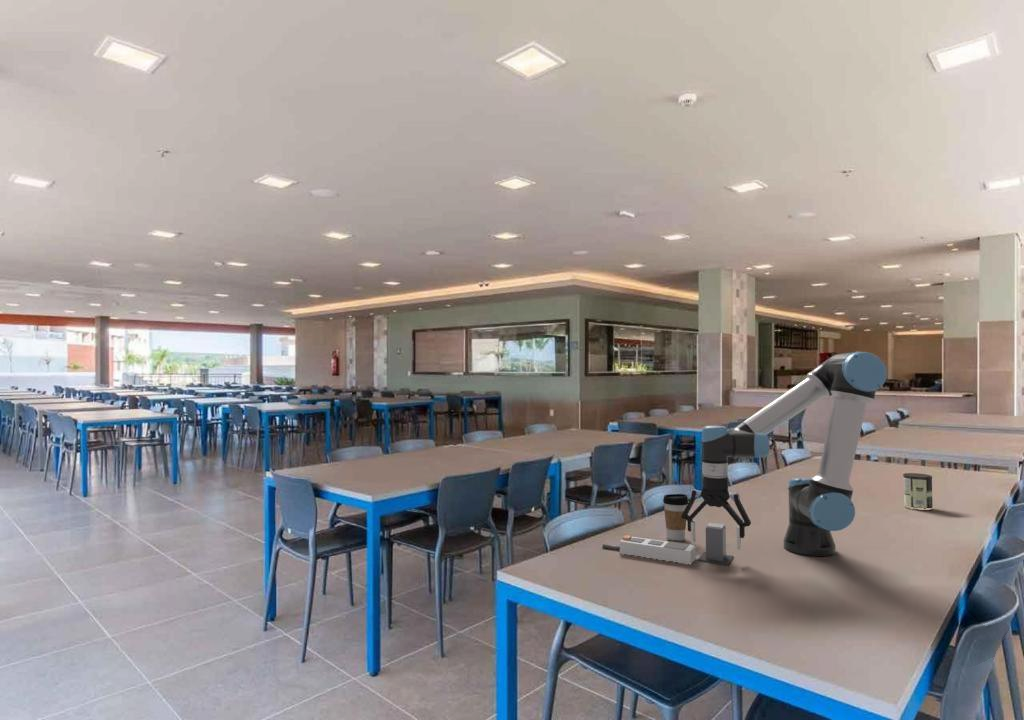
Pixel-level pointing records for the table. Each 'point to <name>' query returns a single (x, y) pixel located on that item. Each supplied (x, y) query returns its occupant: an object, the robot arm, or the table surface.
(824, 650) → the table surface
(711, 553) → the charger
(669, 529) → the coffee cup
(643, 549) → the power strip
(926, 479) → the coffee can
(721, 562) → the mat
